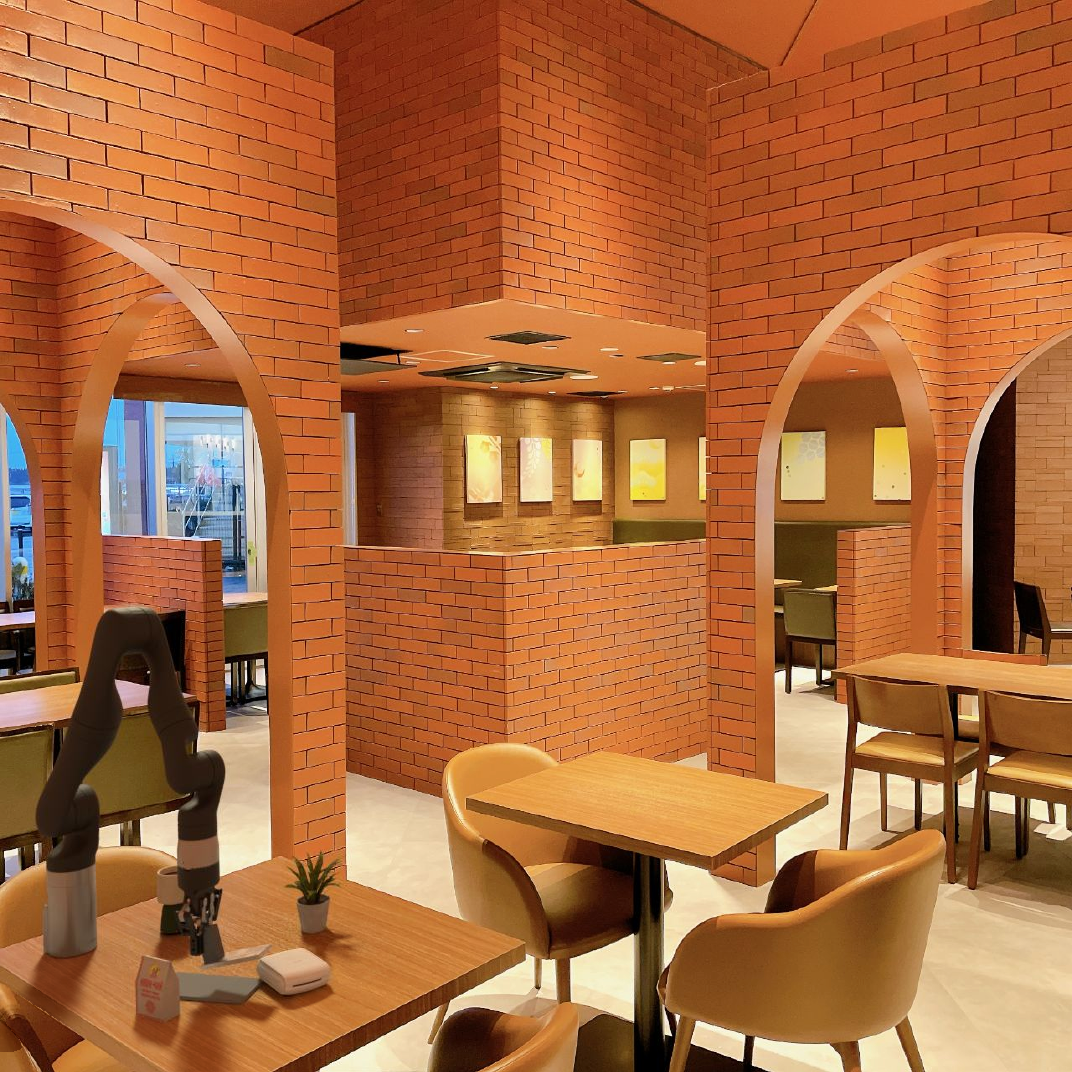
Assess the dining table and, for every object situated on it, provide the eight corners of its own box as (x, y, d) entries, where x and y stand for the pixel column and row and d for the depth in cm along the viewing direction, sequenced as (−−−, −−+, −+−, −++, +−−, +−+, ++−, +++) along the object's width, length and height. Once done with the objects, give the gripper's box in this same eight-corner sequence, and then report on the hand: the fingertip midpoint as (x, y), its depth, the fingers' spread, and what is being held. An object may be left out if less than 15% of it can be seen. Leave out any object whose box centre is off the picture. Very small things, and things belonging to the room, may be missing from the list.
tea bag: (152, 1005, 182) (151, 950, 182) (179, 1013, 179) (178, 957, 179) (135, 1014, 179) (134, 958, 179) (163, 1022, 176) (162, 965, 176)
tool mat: (150, 996, 186) (150, 993, 186) (177, 974, 195) (177, 971, 195) (241, 1004, 182) (241, 1000, 182) (263, 981, 191) (263, 978, 191)
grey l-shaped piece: (201, 970, 186) (192, 934, 186) (215, 958, 191) (206, 923, 191) (259, 958, 184) (250, 922, 184) (272, 947, 189) (263, 911, 189)
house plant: (351, 939, 210) (350, 861, 210) (283, 947, 206) (281, 868, 206) (347, 914, 224) (346, 840, 223) (283, 921, 220) (281, 846, 220)
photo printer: (305, 944, 198) (336, 964, 189) (304, 966, 198) (335, 987, 188) (255, 956, 192) (284, 977, 182) (255, 979, 191) (284, 1002, 182)
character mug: (203, 932, 215) (202, 871, 215) (171, 942, 210) (170, 880, 209) (179, 919, 222) (178, 860, 222) (148, 928, 217) (146, 868, 217)
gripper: (199, 847, 196) (201, 935, 196) (159, 871, 182) (161, 966, 182) (235, 848, 194) (237, 938, 195) (197, 873, 181) (199, 969, 181)
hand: (200, 951), depth 189 cm, fingers closed on grey l-shaped piece
